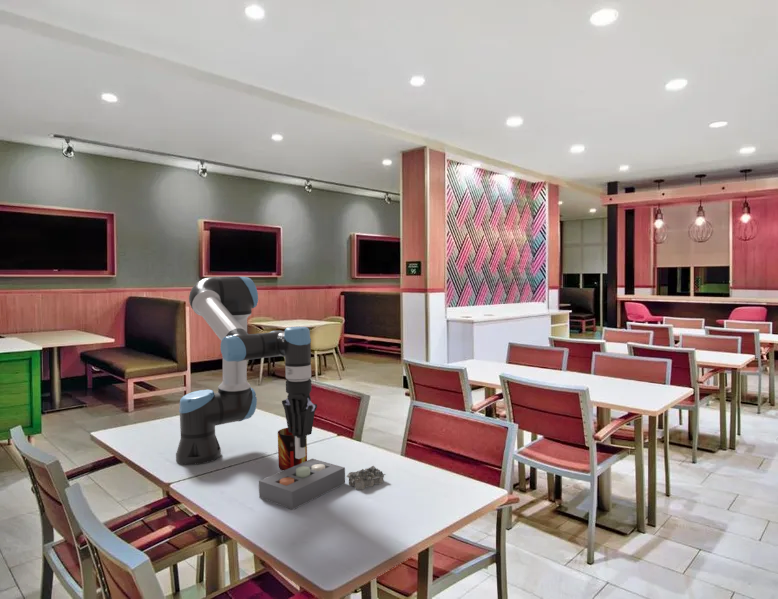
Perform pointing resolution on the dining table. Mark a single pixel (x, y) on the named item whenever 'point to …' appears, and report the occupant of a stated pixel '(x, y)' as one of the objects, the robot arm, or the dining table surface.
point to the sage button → (303, 472)
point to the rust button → (286, 481)
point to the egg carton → (365, 478)
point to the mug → (288, 450)
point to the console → (301, 484)
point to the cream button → (318, 467)
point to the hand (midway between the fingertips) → (300, 457)
